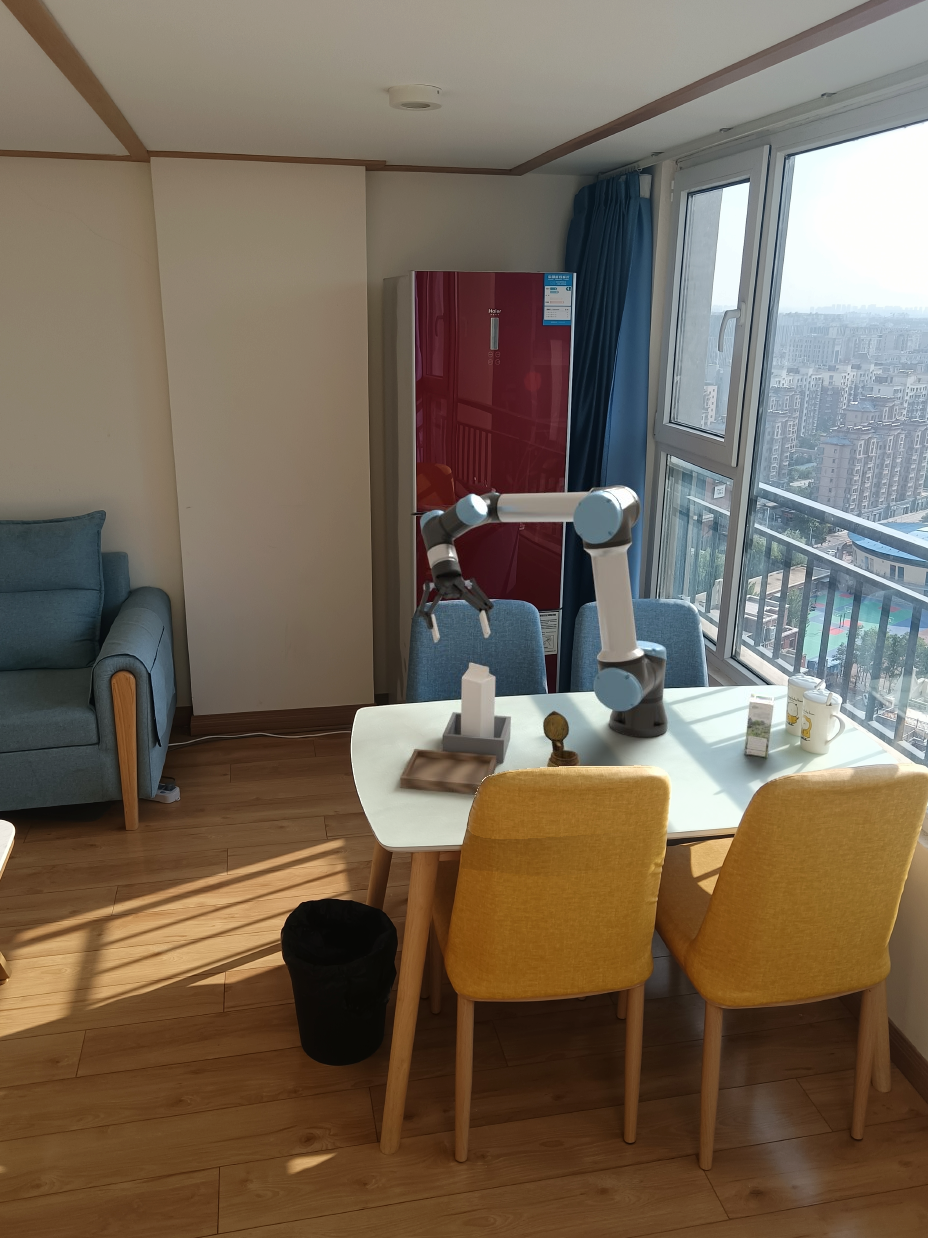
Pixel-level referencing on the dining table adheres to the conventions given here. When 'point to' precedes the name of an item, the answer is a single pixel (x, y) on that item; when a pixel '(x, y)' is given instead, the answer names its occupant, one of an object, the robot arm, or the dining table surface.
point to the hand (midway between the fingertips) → (462, 637)
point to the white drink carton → (759, 725)
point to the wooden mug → (559, 741)
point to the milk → (478, 702)
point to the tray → (447, 771)
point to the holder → (477, 738)
